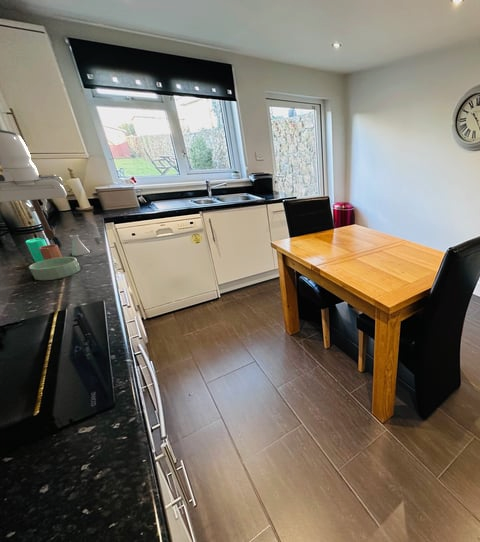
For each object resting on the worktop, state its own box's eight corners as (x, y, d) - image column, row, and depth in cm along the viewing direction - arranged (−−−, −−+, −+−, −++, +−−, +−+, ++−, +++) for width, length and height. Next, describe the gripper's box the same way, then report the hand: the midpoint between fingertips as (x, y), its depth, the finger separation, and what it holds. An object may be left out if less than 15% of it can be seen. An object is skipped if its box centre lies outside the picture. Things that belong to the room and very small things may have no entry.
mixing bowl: (31, 284, 113) (25, 272, 110) (37, 273, 123) (32, 261, 120) (79, 275, 121) (74, 263, 119) (81, 265, 131) (77, 254, 129)
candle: (38, 259, 136) (27, 235, 131) (55, 257, 139) (45, 234, 134) (32, 263, 131) (20, 239, 127) (50, 261, 134) (39, 237, 129)
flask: (93, 253, 145) (86, 234, 141) (74, 257, 140) (66, 238, 136) (87, 250, 149) (80, 232, 145) (69, 254, 143) (61, 235, 139)
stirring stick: (46, 238, 119) (28, 200, 113) (47, 237, 120) (29, 199, 114) (55, 237, 121) (38, 199, 114) (55, 236, 122) (38, 199, 115)
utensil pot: (46, 268, 127) (38, 249, 124) (48, 264, 131) (40, 246, 128) (64, 265, 131) (56, 247, 127) (65, 261, 135) (58, 243, 131)
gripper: (60, 173, 118) (73, 206, 124) (-15, 176, 106) (3, 212, 112) (58, 174, 114) (72, 208, 120) (-20, 177, 102) (-1, 215, 108)
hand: (38, 210), depth 116 cm, fingers closed on stirring stick, 2 cm apart
